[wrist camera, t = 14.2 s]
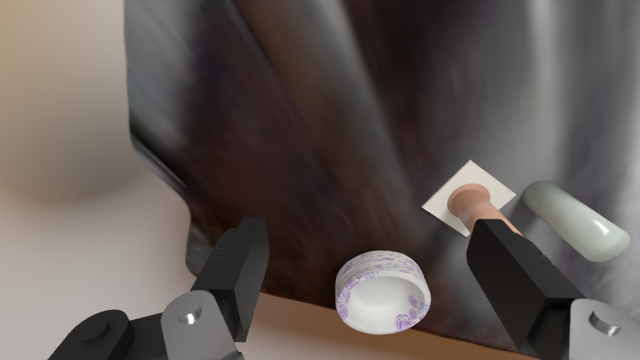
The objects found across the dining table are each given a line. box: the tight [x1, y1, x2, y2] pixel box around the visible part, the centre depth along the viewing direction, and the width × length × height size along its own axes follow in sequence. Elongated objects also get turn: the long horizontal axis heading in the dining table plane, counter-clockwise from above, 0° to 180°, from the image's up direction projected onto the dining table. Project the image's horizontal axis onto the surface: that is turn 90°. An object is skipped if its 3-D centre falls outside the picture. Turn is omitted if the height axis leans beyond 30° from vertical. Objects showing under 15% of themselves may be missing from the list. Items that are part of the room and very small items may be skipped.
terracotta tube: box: [452, 189, 522, 235], centre depth 39 cm, size 5×5×12 cm
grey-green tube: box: [522, 181, 630, 262], centre depth 38 cm, size 5×5×12 cm
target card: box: [422, 160, 516, 237], centre depth 44 cm, size 10×10×1 cm
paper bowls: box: [336, 251, 431, 334], centre depth 48 cm, size 15×15×8 cm
